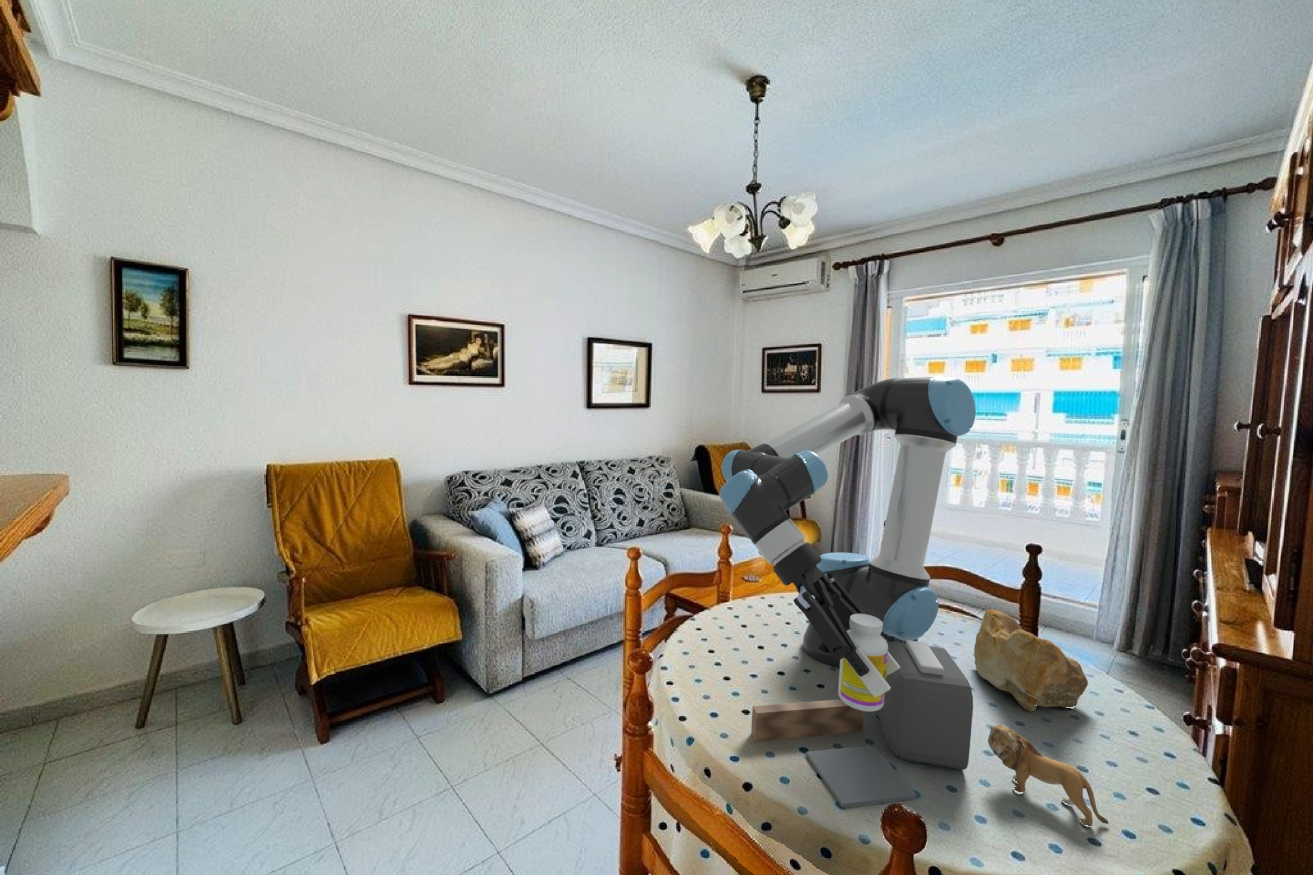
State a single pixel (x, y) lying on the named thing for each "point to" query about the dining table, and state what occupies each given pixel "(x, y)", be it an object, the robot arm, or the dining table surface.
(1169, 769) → the dining table surface
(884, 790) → the rubber mat
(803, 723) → the walnut rail
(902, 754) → the alarm clock
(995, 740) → the lion figurine
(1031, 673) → the rough brown rock
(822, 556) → the robot arm
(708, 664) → the dining table surface
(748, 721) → the dining table surface
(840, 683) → the supplement bottle
